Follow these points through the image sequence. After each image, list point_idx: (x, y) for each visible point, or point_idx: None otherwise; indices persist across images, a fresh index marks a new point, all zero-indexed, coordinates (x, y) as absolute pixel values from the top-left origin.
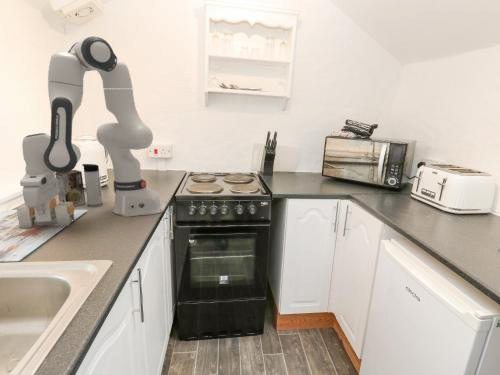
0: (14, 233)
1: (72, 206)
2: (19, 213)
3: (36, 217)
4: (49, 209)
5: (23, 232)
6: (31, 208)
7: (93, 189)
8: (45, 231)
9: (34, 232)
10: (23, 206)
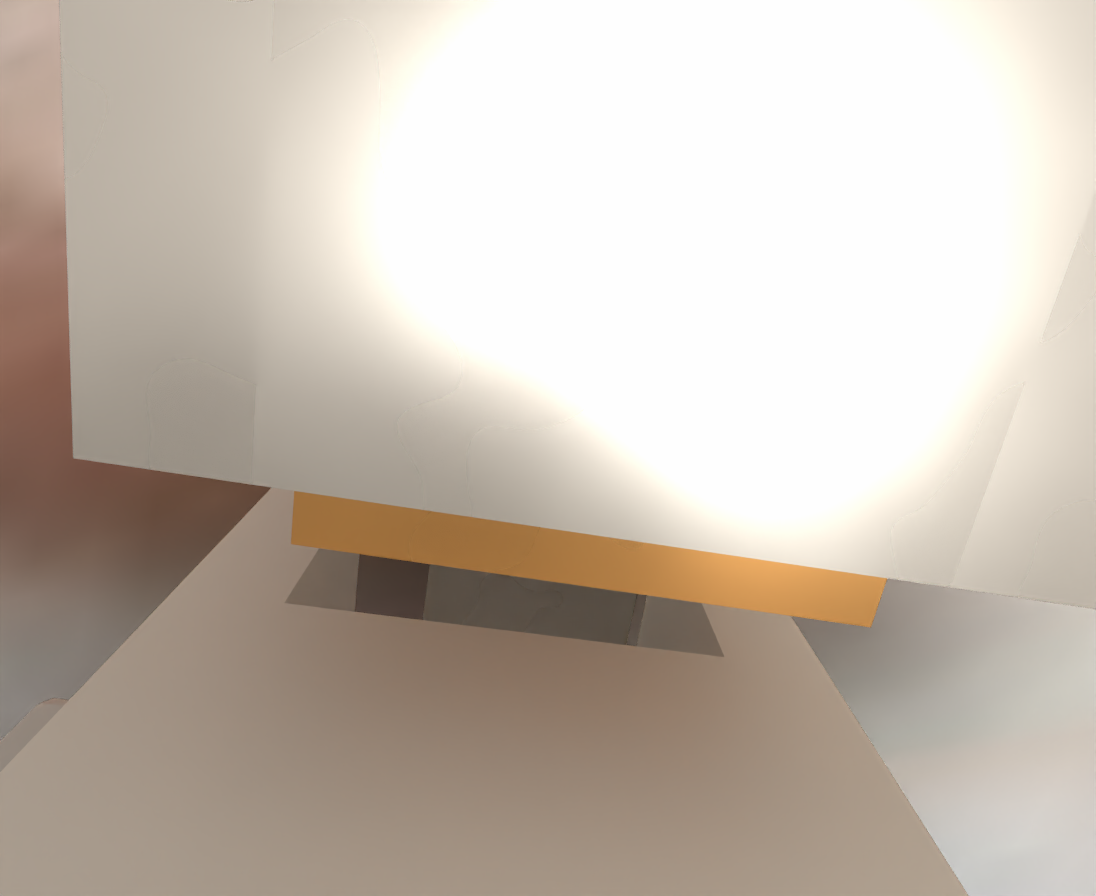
0: (15, 24)
1: None
2: None
3: (252, 534)
4: None
5: (63, 219)
6: (313, 500)
7: None
8: (76, 627)
9: (40, 447)
10: (370, 49)
